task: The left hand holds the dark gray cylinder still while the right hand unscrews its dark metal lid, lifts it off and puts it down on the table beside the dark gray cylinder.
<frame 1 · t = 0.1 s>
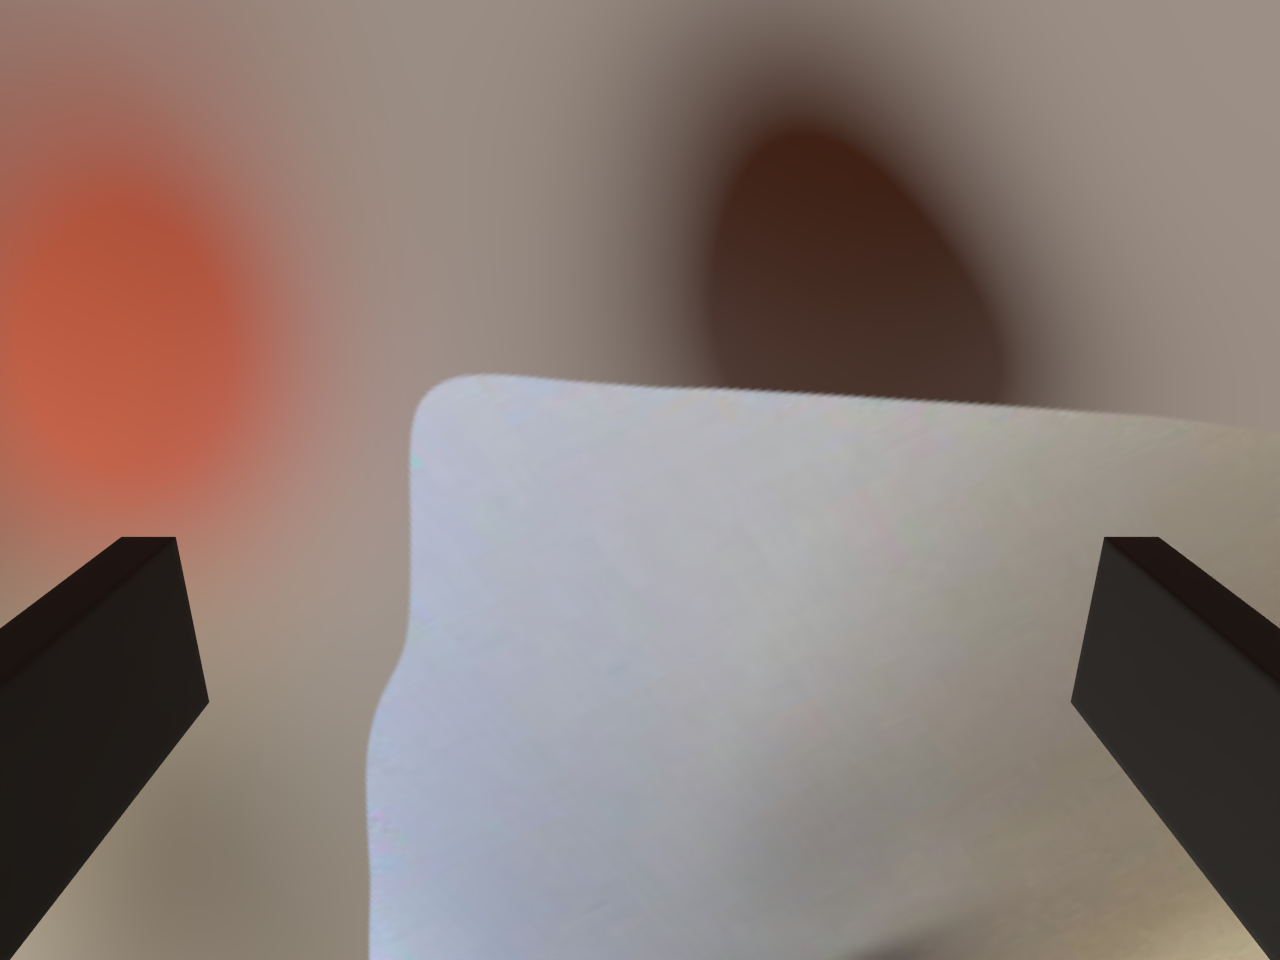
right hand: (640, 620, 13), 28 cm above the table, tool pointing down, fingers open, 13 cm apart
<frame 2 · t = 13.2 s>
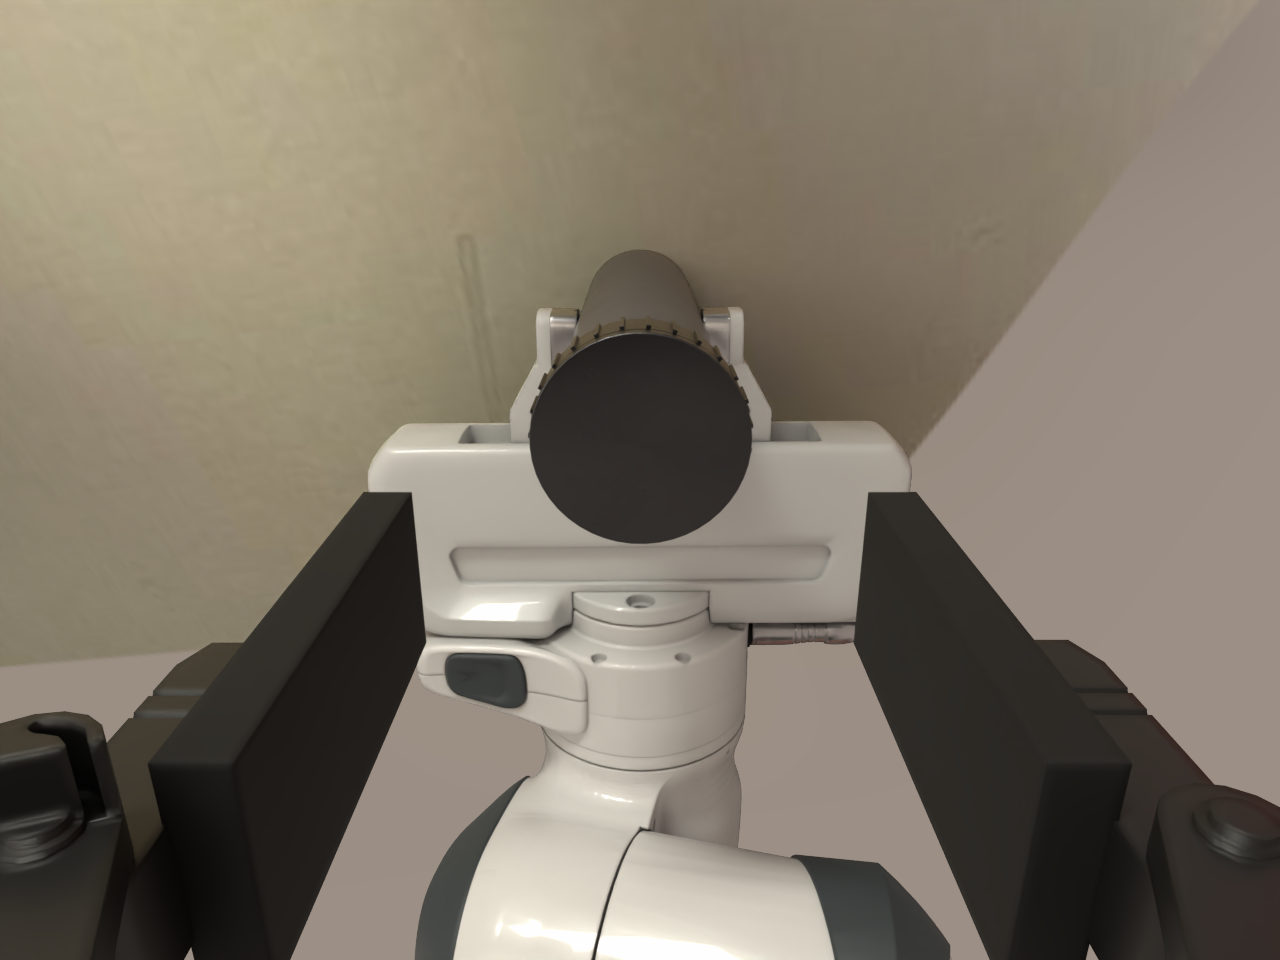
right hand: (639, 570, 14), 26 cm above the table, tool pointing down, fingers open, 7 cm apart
left hand: (638, 309, 32), fingers closed on dark gray cylinder, 4 cm apart
dark gray cylinder: (639, 303, 39), on the table, touching left hand
lid: (640, 438, 21), point 19 cm above the table, screwed on, not yet turned
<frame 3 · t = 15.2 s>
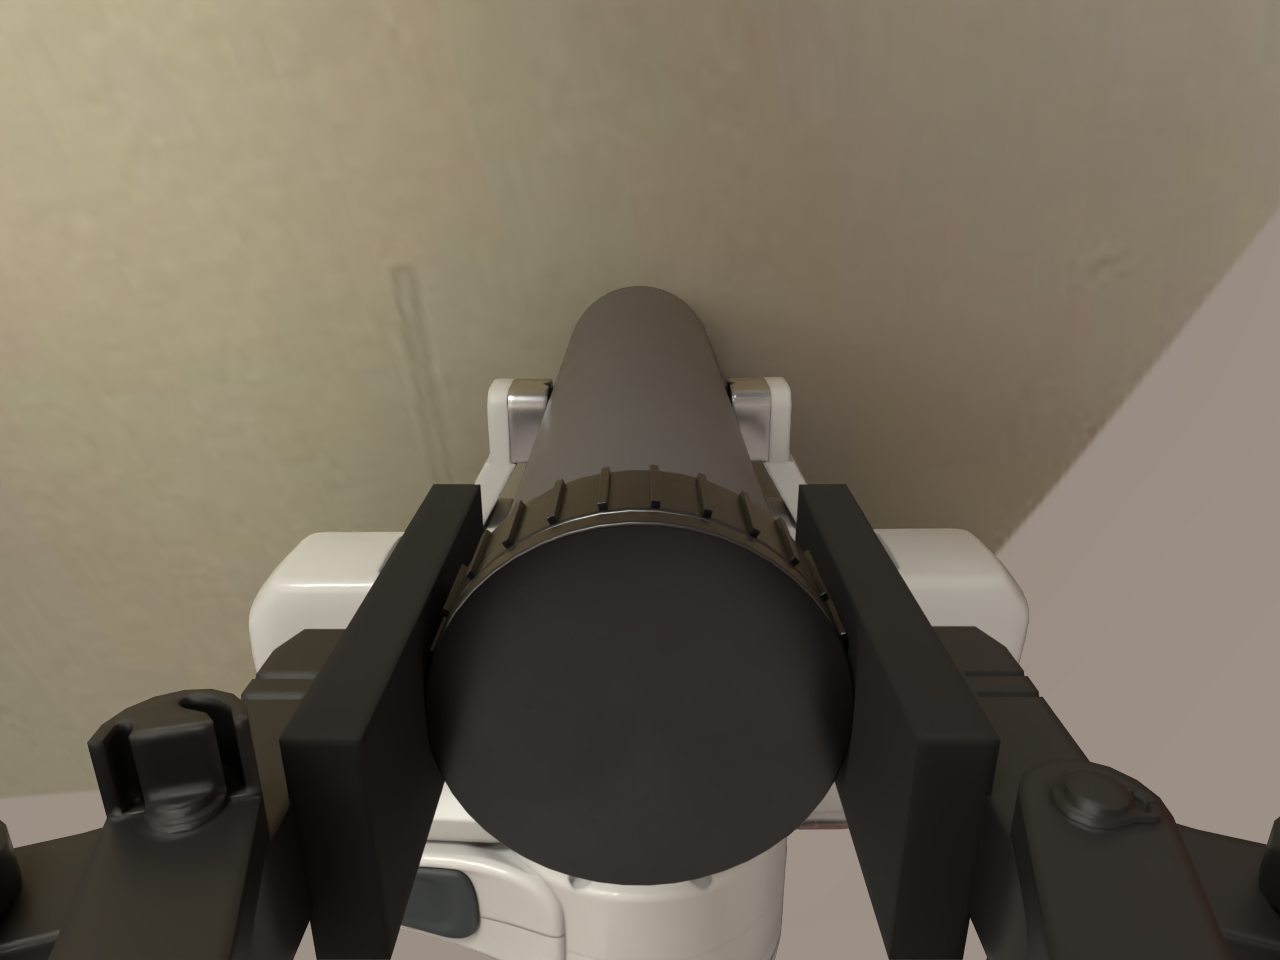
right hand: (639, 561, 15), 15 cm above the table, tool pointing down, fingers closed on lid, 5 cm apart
dark gray cylinder: (639, 357, 29), on the table, touching left hand
lid: (639, 703, 11), point 19 cm above the table, screwed on, not yet turned, touching right hand
when the right hand's fingers open (0 cm above the table, at t = 26.5 s): lid drops 2 cm, point 1 cm above the table.
when the left hand's fingers open (7 cm above the table, at t = 27.7 s): dark gray cylinder stays where it is, on the table.
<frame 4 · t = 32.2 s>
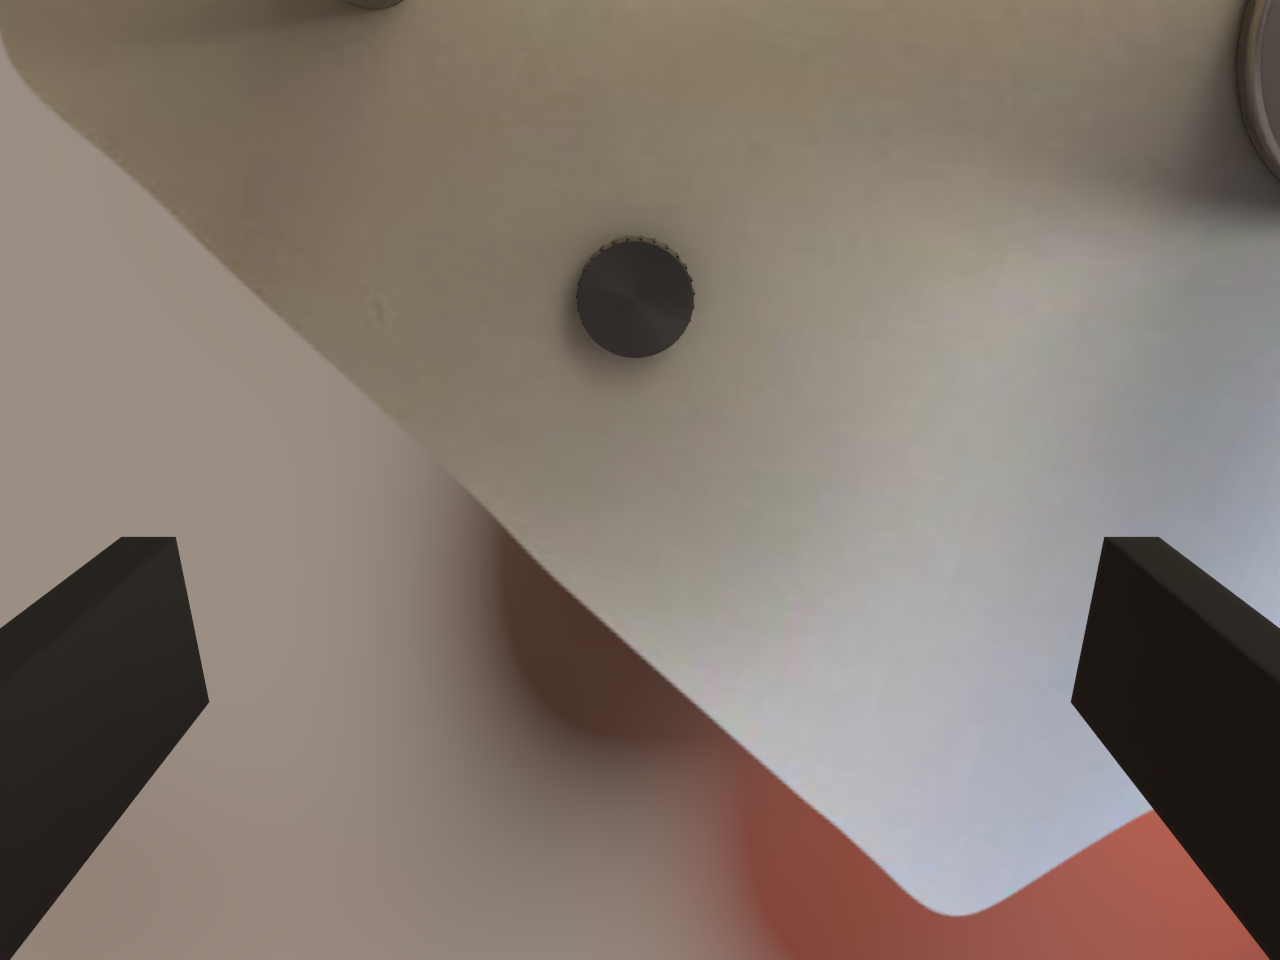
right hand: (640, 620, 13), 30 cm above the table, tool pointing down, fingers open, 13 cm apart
lid: (635, 299, 40), point 1 cm above the table, off its thread
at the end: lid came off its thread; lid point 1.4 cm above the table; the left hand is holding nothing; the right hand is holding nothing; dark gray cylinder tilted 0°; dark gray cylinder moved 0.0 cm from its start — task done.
